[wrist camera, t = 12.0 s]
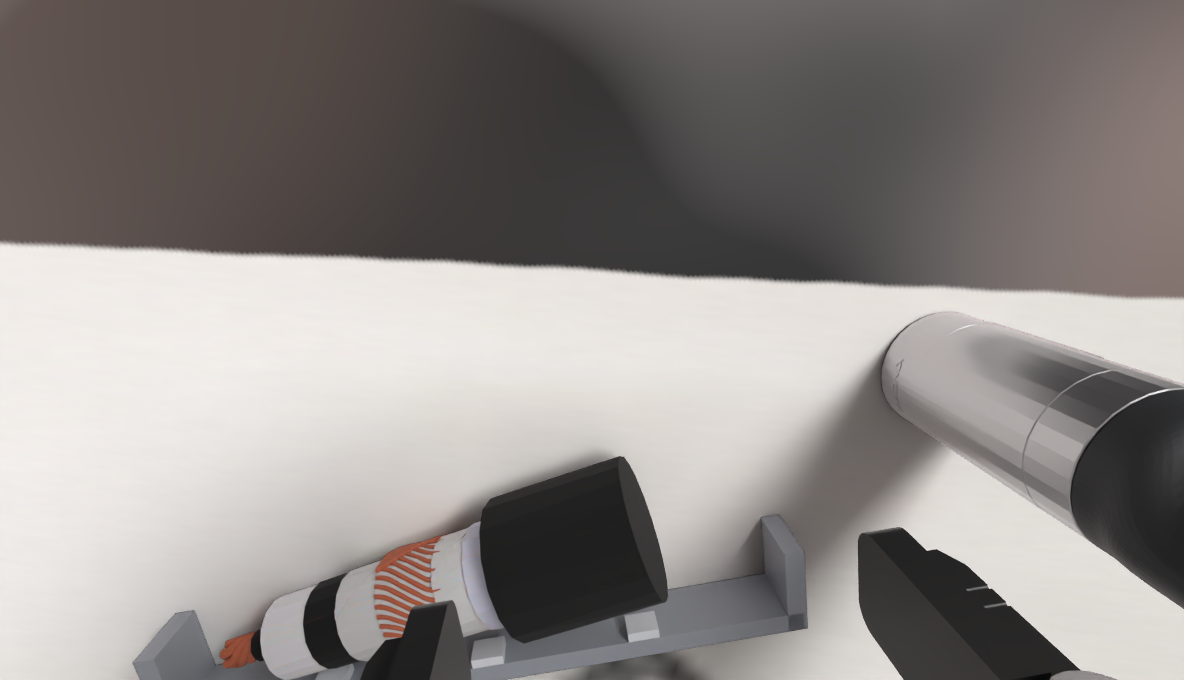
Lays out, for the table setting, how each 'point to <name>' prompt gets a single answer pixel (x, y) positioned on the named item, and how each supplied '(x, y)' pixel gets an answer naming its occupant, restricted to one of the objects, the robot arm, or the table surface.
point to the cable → (481, 576)
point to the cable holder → (686, 620)
